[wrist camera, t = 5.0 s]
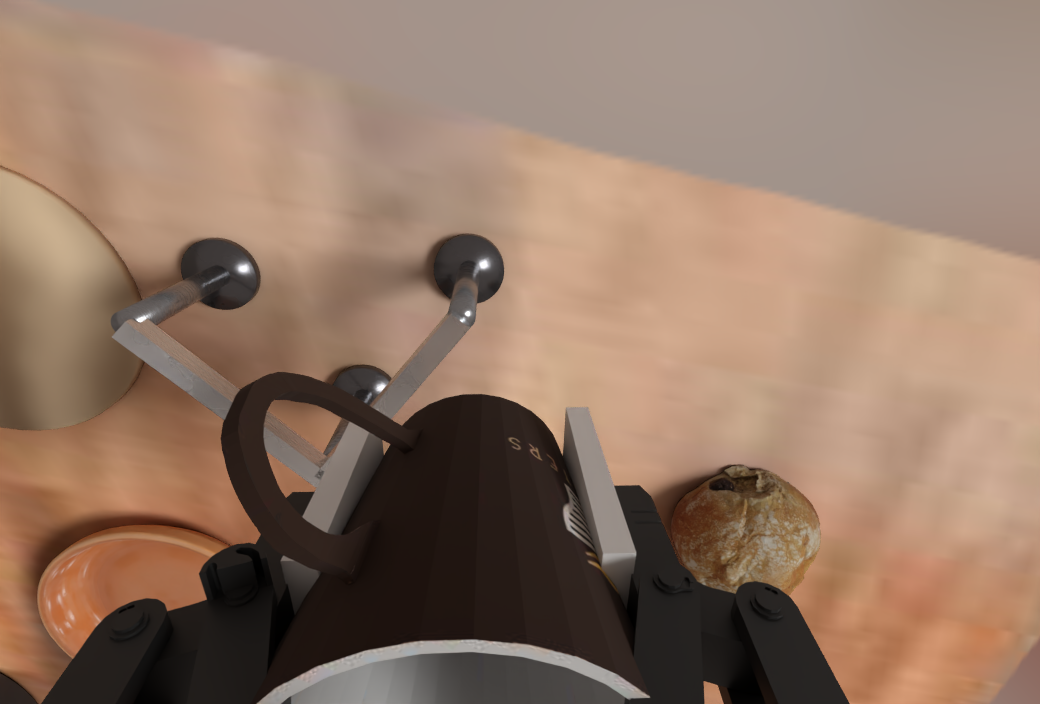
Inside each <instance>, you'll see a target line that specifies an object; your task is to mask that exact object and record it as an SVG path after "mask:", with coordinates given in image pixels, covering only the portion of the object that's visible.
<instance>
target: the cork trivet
mask: <svg viewBox="0 0 1040 704" xmlns="http://www.w3.org/2000/svg"><path fill="white" fill-rule="evenodd" d="M141 300H142V299H141V297H140V294H139V291H138V289H137V286H136V284H135V282H134V280H133V278H132V276H131V274H130V272H129V270H128V268H127V267H126V265H125V263H124V262H123V260H122V259H121V257H120V256H119V254H118V253H117V252H116V250H115V249H114V247H113V246H112V245H111V244H110V242H109V241H108V240H107V239H106V238H105V237H104V235H103V234H102V233H101V232H100V231H99V230H98V229H97V228H96V227H95V226H94V225H93V224H92V223H91V222H90V221H89V220H88V219H87V218H86V217H85V216H84V215H83V214H82V213H81V212H79V211H78V210H77V209H76V208H74V207H73V206H72V205H71V204H69V203H68V202H67V201H66V200H64V199H63V198H61V197H60V196H58V195H57V194H55V193H54V192H52V191H51V190H49V189H48V188H46V187H45V186H43V185H41V184H39V183H37V182H35V181H33V180H32V179H30V178H28V177H26V176H24V175H22V174H20V173H17V172H15V171H12V170H10V169H8V168H5V167H3V166H0V427H3V428H10V429H18V430H50V429H59V428H63V427H68V426H73V425H76V424H79V423H81V422H84V421H87V420H89V419H91V418H93V417H95V416H97V415H99V414H100V413H102V412H103V411H105V410H106V409H108V408H109V407H110V406H112V405H113V404H114V403H116V402H117V401H118V400H120V399H121V398H122V397H123V396H124V395H125V394H126V393H127V391H128V390H129V389H130V388H131V387H132V385H133V384H134V382H135V381H136V379H137V378H138V376H139V373H140V371H141V369H142V366H143V364H144V361H143V360H142V359H140V358H139V357H138V356H136V355H135V354H134V353H132V352H131V351H130V350H128V349H127V348H126V347H124V346H123V345H121V344H120V343H119V342H117V341H116V340H115V339H113V338H112V336H113V335H114V334H115V333H116V332H115V331H114V329H113V328H112V326H111V317H112V315H113V314H114V313H116V312H118V311H120V310H122V309H124V308H126V307H129V306H131V305H133V304H135V303H137V302H139V301H141Z"/></svg>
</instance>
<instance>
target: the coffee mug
mask: <svg viewBox="0 0 1040 704" xmlns="http://www.w3.org/2000/svg"><path fill="white" fill-rule="evenodd" d="M273 400H290V401H295V402H303V403H309V404H314V405H317V406H320V407H322V408H325V409H327V410H329V411H331V412H333V413H334V414H336V415H338V416H340V417H342V418H344V419H346V420H348V421H350V422H351V423H353V424H355V425H357V426H359V427H361V428H363V429H364V430H366V431H368V432H369V433H371V434H373V435H375V436H376V437H378V438H380V439H382V440H384V441H386V442H388V443H390V446H389V448H388V450H387V451H386V453H385V455H384V457H383V459H382V460H381V462H380V464H379V466H378V468H377V469H376V471H375V473H374V475H373V476H372V478H371V480H370V482H369V484H368V485H367V487H366V489H365V491H364V493H363V494H362V496H361V498H360V500H359V502H358V504H357V506H356V508H355V510H354V511H353V513H352V515H351V517H350V519H349V521H348V523H347V525H346V527H345V528H344V530H343V532H342V534H341V535H334V534H329V533H326V532H324V531H322V530H320V529H319V528H317V527H316V526H314V525H313V524H311V523H310V522H308V521H307V520H305V519H304V518H303V517H302V516H301V515H300V514H299V513H298V512H297V511H296V510H295V509H294V508H293V507H292V506H291V504H290V503H289V502H288V501H287V499H286V497H285V496H284V494H283V493H282V492H281V490H280V488H279V486H278V484H277V481H276V479H275V477H274V474H273V472H272V469H271V466H270V463H269V460H268V457H267V453H266V449H265V444H264V422H265V418H266V413H267V410H268V408H269V406H270V404H271V402H272V401H273ZM221 444H222V451H223V455H224V458H225V463H226V467H227V471H228V474H229V477H230V480H231V483H232V485H233V488H234V490H235V492H236V494H237V496H238V498H239V500H240V502H241V504H242V506H243V507H244V509H245V511H246V513H247V514H248V516H249V517H250V519H251V520H252V522H253V523H254V525H255V526H256V527H257V529H258V531H259V532H260V534H261V535H262V536H263V537H264V539H265V540H266V541H267V542H268V543H269V544H270V545H271V546H272V548H273V549H275V550H276V551H277V552H279V553H280V554H282V555H283V556H285V557H287V558H289V559H292V560H294V561H296V562H298V563H300V564H302V565H304V566H306V567H308V568H311V569H314V570H317V571H320V572H321V574H320V576H319V577H318V579H317V580H316V582H315V583H314V585H313V586H312V588H311V589H310V590H309V592H308V593H307V595H306V596H305V598H304V600H303V602H302V603H301V605H300V607H299V609H298V611H297V612H296V614H295V616H294V618H293V620H292V621H291V623H290V625H289V627H288V628H287V630H286V632H285V634H284V636H283V637H282V639H281V641H280V643H279V645H278V646H277V648H276V650H275V654H274V657H273V659H272V662H271V664H270V667H269V669H268V673H267V676H266V678H265V679H264V681H263V683H262V685H261V686H260V688H259V690H258V691H257V693H256V695H255V697H254V698H253V700H252V702H251V704H281V703H282V702H284V701H285V700H286V699H287V698H288V697H290V696H291V704H624V702H625V697H626V698H627V699H629V700H630V698H650V695H649V693H648V690H647V688H646V686H645V683H644V681H643V678H642V676H641V674H640V671H639V669H638V667H637V664H636V662H635V660H634V634H635V629H634V627H633V625H632V622H631V620H630V617H629V615H628V612H627V610H626V608H625V605H624V603H623V601H622V599H621V597H620V594H619V592H618V590H617V588H616V586H615V584H614V583H613V582H612V581H611V579H610V578H609V577H608V576H607V575H606V573H605V572H604V571H603V570H602V568H601V565H600V562H599V559H598V556H597V553H596V550H595V547H594V544H593V541H592V538H591V535H590V532H589V528H588V525H587V522H586V519H585V516H584V513H583V510H582V507H581V504H580V501H579V498H578V495H577V492H576V489H575V486H574V484H573V481H572V479H571V476H570V474H569V471H568V468H567V466H566V463H565V461H564V458H563V456H562V454H561V451H560V449H559V447H558V444H557V442H556V440H555V438H554V435H553V434H552V432H551V431H550V430H549V428H548V427H547V426H546V424H545V423H544V422H543V421H542V420H541V419H540V418H539V417H537V416H536V415H535V414H534V413H533V412H532V411H530V410H528V409H526V408H525V407H523V406H521V405H519V404H518V403H515V402H513V401H510V400H507V399H504V398H501V397H496V396H490V395H484V394H465V395H459V396H453V397H448V398H444V399H442V400H439V401H437V402H434V403H431V404H429V405H427V406H426V407H424V408H423V409H421V410H419V411H418V412H416V413H415V414H414V415H413V416H412V417H410V418H409V419H408V420H407V421H406V422H405V423H404V424H403V425H402V426H401V425H400V424H398V423H396V422H394V421H393V420H391V419H390V418H389V417H387V416H385V415H384V414H382V413H381V412H379V411H378V410H376V409H374V408H373V407H371V406H369V405H368V404H366V403H364V402H363V401H361V400H359V399H358V398H356V397H354V396H353V395H351V394H349V393H348V392H346V391H344V390H342V389H340V388H338V387H336V386H333V385H330V384H328V383H325V382H322V381H319V380H317V379H314V378H311V377H309V376H304V375H300V374H293V373H286V372H277V373H273V374H269V375H266V376H264V377H262V378H260V379H258V380H256V381H254V382H252V383H251V384H249V385H247V386H245V387H244V388H242V389H240V391H239V392H238V393H237V394H236V396H235V398H234V400H233V402H232V405H231V407H230V409H229V411H228V413H227V416H226V418H225V420H224V422H223V427H222V435H221Z"/></svg>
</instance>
